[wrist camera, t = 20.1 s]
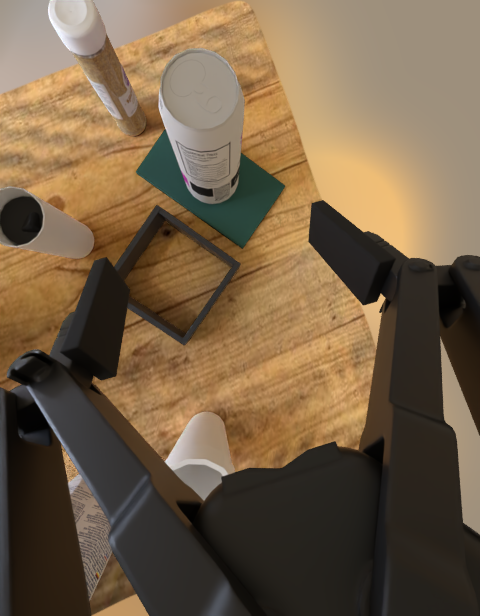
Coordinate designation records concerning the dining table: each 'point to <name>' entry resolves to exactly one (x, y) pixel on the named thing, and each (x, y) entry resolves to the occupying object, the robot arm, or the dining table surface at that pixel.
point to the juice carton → (90, 531)
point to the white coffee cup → (41, 226)
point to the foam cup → (202, 454)
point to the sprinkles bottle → (98, 60)
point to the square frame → (139, 247)
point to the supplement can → (204, 121)
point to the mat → (221, 216)
